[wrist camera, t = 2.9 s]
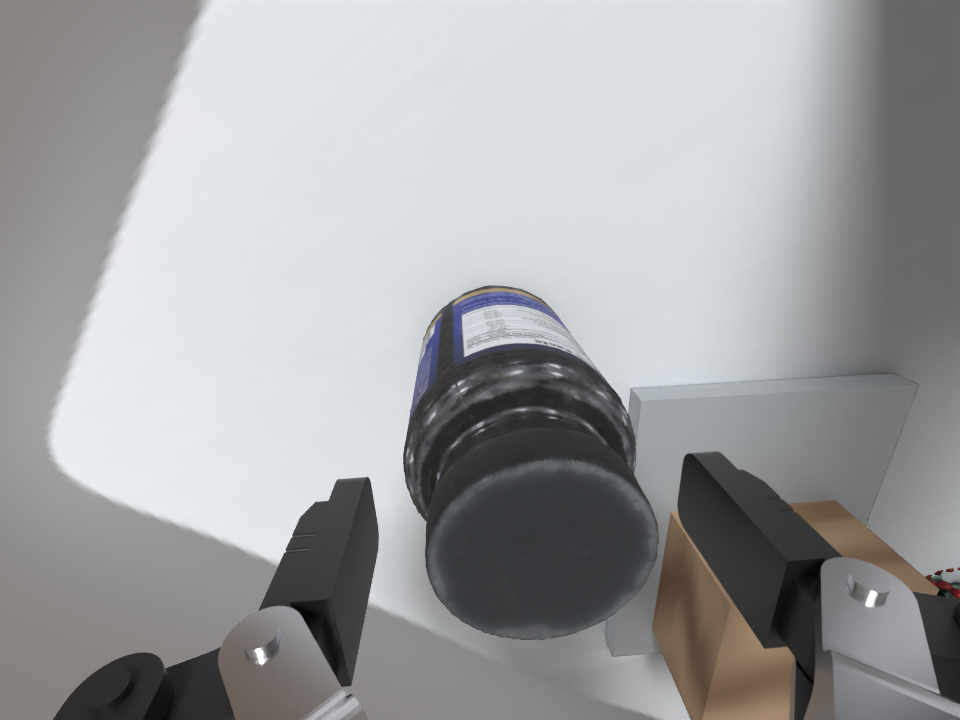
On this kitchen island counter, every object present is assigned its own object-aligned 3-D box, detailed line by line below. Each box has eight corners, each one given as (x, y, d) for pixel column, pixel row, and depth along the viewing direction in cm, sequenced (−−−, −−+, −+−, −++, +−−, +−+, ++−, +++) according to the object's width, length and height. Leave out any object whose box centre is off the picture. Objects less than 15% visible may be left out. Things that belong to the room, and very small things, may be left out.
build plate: (631, 388, 20) (641, 401, 19) (893, 373, 20) (918, 384, 19) (605, 636, 26) (612, 656, 25) (807, 620, 27) (822, 640, 26)
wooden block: (670, 511, 21) (730, 605, 17) (835, 500, 22) (939, 589, 17) (651, 629, 24) (697, 735, 20) (796, 617, 25) (874, 720, 20)
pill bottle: (490, 441, 21) (526, 702, 11) (390, 353, 19) (316, 568, 9) (596, 353, 19) (754, 556, 9) (499, 248, 17) (565, 358, 7)
